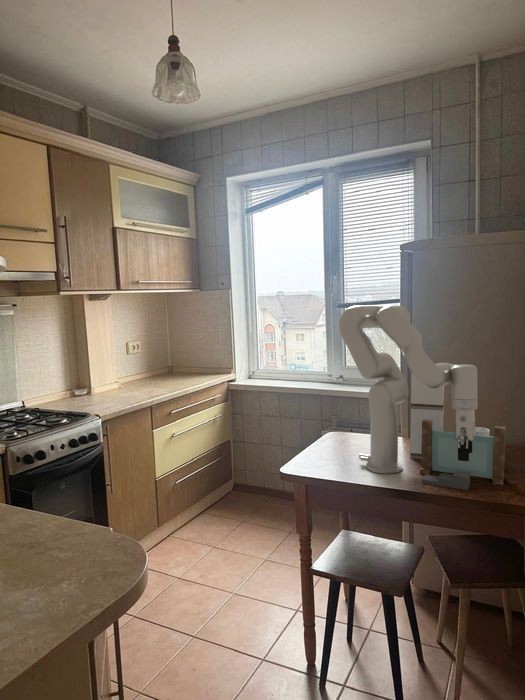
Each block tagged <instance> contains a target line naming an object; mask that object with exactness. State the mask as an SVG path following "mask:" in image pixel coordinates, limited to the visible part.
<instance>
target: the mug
mask: <svg viewBox="0 0 525 700" xmlns="http://www.w3.org/2000/svg"><path fill="white" fill-rule="evenodd" d="M475 433H476V435H484V436H490V429H489V428H486V427H481V426H480V427H477V426H475Z"/></svg>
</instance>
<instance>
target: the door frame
mask: <svg viewBox="0 0 525 700" xmlns="http://www.w3.org/2000/svg"><path fill="white" fill-rule="evenodd" d="M432 421H433V420H427V419H423V420H422V453H421V459H420V460H421V461H420V462H421V463H420V465H421V466H420V468H419V474H420V475H421V474H422V475H430V474H431V472H432V471H433V470H432ZM505 449H506V426H501V425H500V426H499V425H495V427H494V454H493V479H492V485H496V484H501V485H500V486H504V482H503V481H504V480H505V452H506V451H505Z"/></svg>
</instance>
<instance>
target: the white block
mask: <svg viewBox="0 0 525 700" xmlns="http://www.w3.org/2000/svg"><path fill="white" fill-rule="evenodd" d="M410 371H411V370H410ZM410 374H411V377H410V378H411V383H410V388H411V389H410V433H409V435H410V437H409V438H410V442H409V443H410V445H409V448H410V449H409V458H410V459H414V460H421V453H422V420H423V419H427V420H433V421H432V431H433V430H436V431H444V413H445V412H444V409H445V386H442V387H440V388H436V389H432V388H429V387H427V386H425V385H424V384H423V383H422V382H421V381H420V380H419V379H418V378H417V377H416V376H415V375H414V374H413V372H412V371H411V373H410Z"/></svg>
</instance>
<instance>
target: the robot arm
mask: <svg viewBox="0 0 525 700" xmlns="http://www.w3.org/2000/svg"><path fill="white" fill-rule="evenodd" d="M411 317H412V316H411V313H410V311H409V309H407V308H406V307H404V306H402V305H380V304H379V305H378V304H377V305H376V304H365V305H364V304H363V305H362V304H361V305H358V304H357V305H352V306H349V307H348V308H346V309H345V310H344V311H343V312H342V314H341V315H340V319H339V323H338V328H339V333H340V336H341V338H342V340H343V342H344V343H345V345H346V347H347V348H348V352H350V355H351V357H352V359H353V361H354V364H355V366H356V367H357V370H358V371H359V372H358V373H359V374H360V376H362V377H363V379H365V380H367V381H373V380H378V381H377V382H375V383H374V384H373V385H371V387H370V389H369V391H368V395H367V396H368V397H367V398H368V404H369V405H368V406H369V412H370V444H369V445H370V447H369V448H370V450H369V453H368V454H365V453H359V456H358V459H359V460H360V461H363V462H365V461H366V463H365V468H366V469H367V470H368V471H370V472H373V473H377V474H385V475H386V474H387V475H388V474H389V475H390V474H396V473H397V474H398V473H399V472H401V471H402V470H403V466H402V464H401V463H400V462H398V461H399V459H398V458H399V457H398V456H399V455H398V454H399V453H398V452H399V416H398V411H397V407H396V406H397V405H399V404H401V403H404V402H405V401H406V400H407V399H408V397H409V390H410V389H409V386H408V383H407V381H406V379H405V378H404V375H403V373H402V371H401V369H400V368H399V365H398V363H397V362H396V361H395V359H394V357H392V355H390V354H389V353H387V352H385V351H377V350H376V348H375V347H374V345H373V343H372V340H371V339H370V337H369V336H368V334H366V333H365V331H364V329H371V328H372V329H374V328H375V329H381V330H383V332H384V333H385V334H386V336H388V337H389V339H390V340H391V341H392V342H393V343H394V344H395V345H396V347H398V349H399V350H400V351H401V354H402V356H403V358H404V361H405V363H406V366H408V367H407V368H408V369H409V370H410V371H412V372H413V374H414V375H415V376H416V377H417V378H418V379H419V380H420V381H421V382H422V383H423V384H424V385H425V386H427V387H429V388H432V389H436V388H440V387H442V386H444V387H445V386H449V385H451V409H453V410H455V433H456V437H457V440H459V442H458V460H459V461H469V453H472V441H473V440H474V438H475V435H476V433H475V427H476V415H475V414H476V413H475V410H478V368H477V366H476V365H474V364H468V363H467V364H465V363H464V364H462V363H461V364H454V363H449V362H439V363H435V362H434V361H433V360H432V359H431V358H430V357H429V356H428V355H427V353H426V352H425V351H424V348H423V345H422V344H423V335H422V334H421V332H420V331H419V330H418V329H417V328H416V327H415V326H414V325H413V324H412V323H411V321H412V320H411V319H412V318H411ZM470 440H471V441H470Z"/></svg>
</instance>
